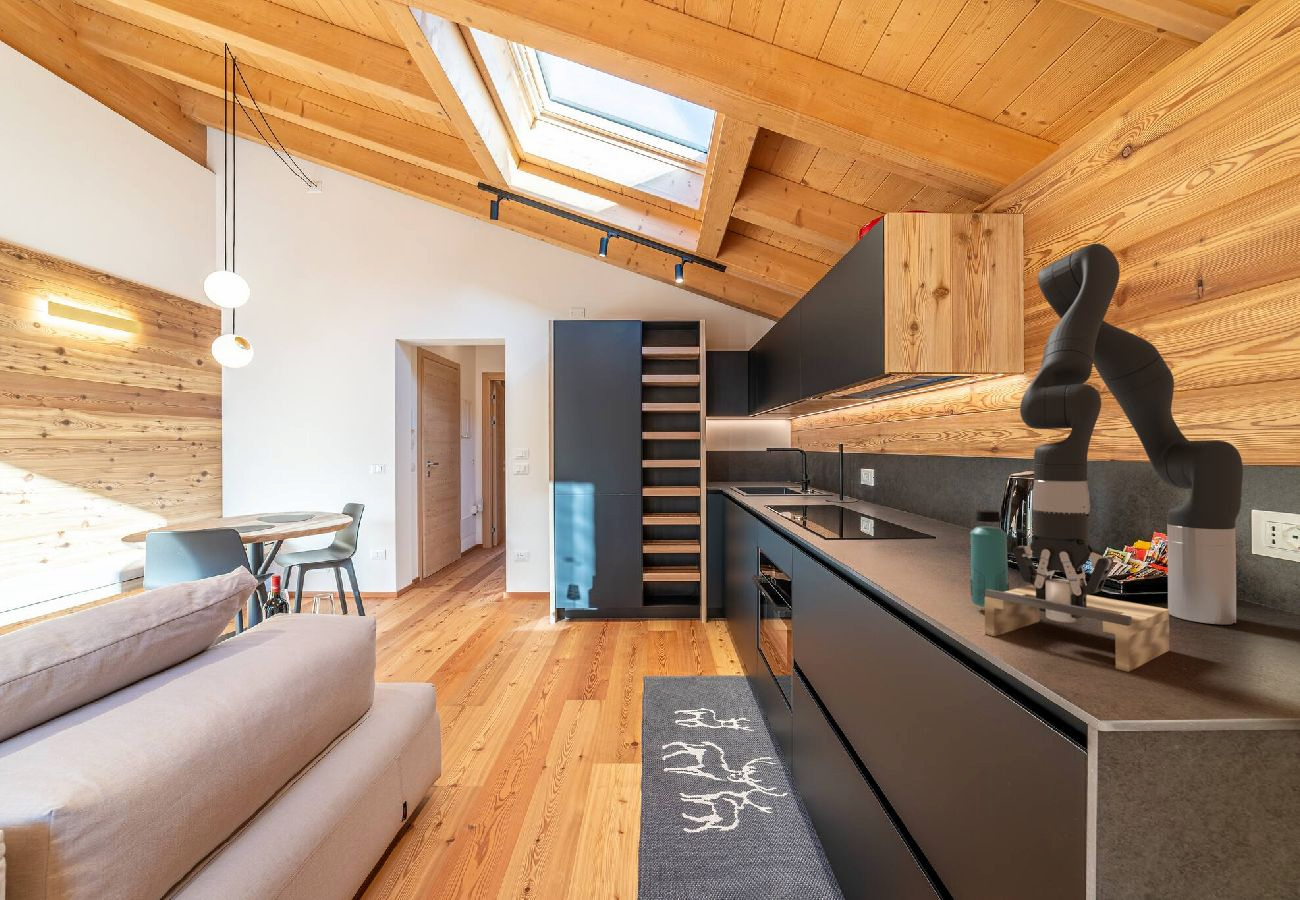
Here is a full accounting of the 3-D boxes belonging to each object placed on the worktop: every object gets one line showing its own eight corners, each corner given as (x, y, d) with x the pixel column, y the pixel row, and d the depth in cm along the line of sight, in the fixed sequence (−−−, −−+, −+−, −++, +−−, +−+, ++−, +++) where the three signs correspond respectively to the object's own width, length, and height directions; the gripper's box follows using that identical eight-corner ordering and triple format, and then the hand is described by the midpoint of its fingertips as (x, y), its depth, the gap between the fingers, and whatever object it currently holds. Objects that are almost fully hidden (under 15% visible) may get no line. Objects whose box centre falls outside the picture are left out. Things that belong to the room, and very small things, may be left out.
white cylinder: (1040, 617, 93) (1040, 580, 94) (1052, 613, 96) (1052, 577, 96) (1069, 623, 90) (1068, 585, 90) (1080, 619, 92) (1080, 582, 92)
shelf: (1030, 619, 107) (1030, 578, 107) (1169, 650, 90) (1168, 601, 90) (984, 634, 99) (984, 589, 99) (1128, 671, 82) (1127, 618, 82)
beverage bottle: (1015, 617, 109) (1014, 512, 109) (976, 615, 110) (975, 511, 110) (1001, 607, 115) (1000, 508, 115) (965, 606, 117) (964, 508, 117)
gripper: (1002, 506, 97) (1002, 607, 97) (1102, 513, 85) (1103, 629, 85) (1024, 503, 101) (1024, 601, 101) (1123, 510, 89) (1124, 621, 89)
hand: (1060, 613), depth 93 cm, fingers closed on white cylinder, 4 cm apart
